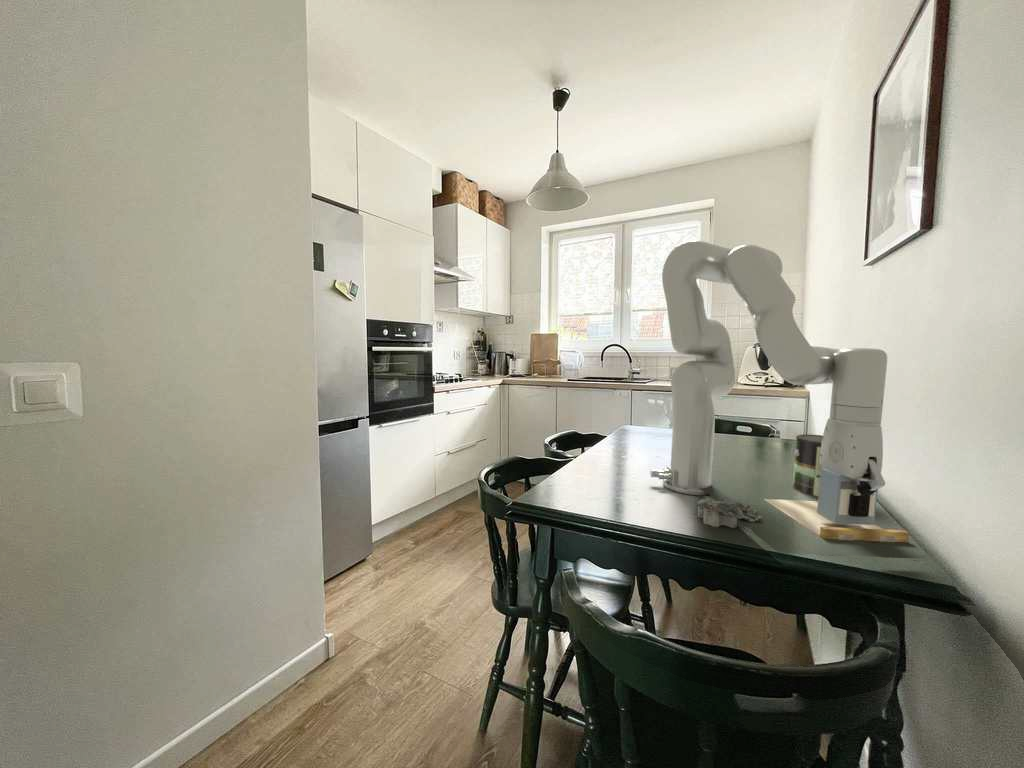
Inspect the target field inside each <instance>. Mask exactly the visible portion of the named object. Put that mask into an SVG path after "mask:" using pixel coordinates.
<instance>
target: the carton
mask: <svg viewBox="0 0 1024 768" xmlns="http://www.w3.org/2000/svg"><path fill="white" fill-rule="evenodd" d="M861 478H865V477H864V475H863V476H862V477H861ZM859 482H860V487H861V486H862V485H864V482H862V481H859ZM878 491H879V489H878V490H877V491H876V492H874V495H873V496H872V497H871V496H870V505H869V515H868V517H854V516H850V515H849V514H848V511H849V500H850V494H853V488H852V481H851V479H849V478H846V477H844V476H843V475H840V474H838V473H835V472H833V471H831V470H828V469H826V468H821V473H820V485H819V496H817V497H818V498H817V501H818V507H817V513H818V514H819V515H821V516H823V517H825V518H826V519H828V520H830V521H832V522H833V523H837V524H860V525H875V521H876V520H875V519H876V511H877V502H878V501H877V500H878Z"/></svg>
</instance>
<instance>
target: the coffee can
mask: <svg viewBox="0 0 1024 768" xmlns="http://www.w3.org/2000/svg"><path fill="white" fill-rule="evenodd" d="M822 438H823V435H820V434H808V433H807V434H798V435H796V436H795V441H796V442H795V444H796V445H795V451H794V466H793V477H792V478H793V479H792V488H793V489H794V490H796V491H799V492H800V493H804V494H807V495H811V496H815V497H818V496H819V485H820V473H821V468H823V467H822V466H821V465H820V463H819V459H820V450H821V444H822Z"/></svg>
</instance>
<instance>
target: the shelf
mask: <svg viewBox="0 0 1024 768" xmlns="http://www.w3.org/2000/svg"><path fill="white" fill-rule="evenodd" d="M763 501H765V502H766V503H768V504H770V505H771V506H772V507H774V508H776V509H778V511H781V512H782V513H784V515H787V516H788V517H789V518H791V519H793V520H794V521H796V522H798V523H799V524H800V525H802V526H804V527H805V528H807V529H808V530H809V531H811V532H813V533H814V534H816V535H817V536H819V537H820V538H821V539H823V540H839V541H869V542H881V543H909V540H910V532H909V531H907V530H905V529H902V530H901V529H884V528H882V527H880V526H878V525H876V524H874V525H860V524H837V523H833V522H832V521H830V520H828V519H826V518H825V517H823V516H821V515H819V514H818V513H817V507H818V500H798V499H796V500H795V499H774V498H773V499H772V498H771V499H770V498H763Z"/></svg>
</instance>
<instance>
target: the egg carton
mask: <svg viewBox="0 0 1024 768" xmlns="http://www.w3.org/2000/svg"><path fill="white" fill-rule="evenodd" d="M696 504H697V517H698V518H701V519H702V520H703V523H704V525H709V526H711V527H715V528H719V526H726V527H729V528H730V529H736V528H737V527H743V528H747V529H749V530H751V528H750V527H749V526H748V525H747V524H745V522H743V521H742V520H746V521H748V522H756V521H757V522H758V521H759V520H760V518H761V519H762V518H763V516H762V515H760V513H759V511H758V510H756V508H755V507H754V506H753V505H751V503H750V502H749V501H748V500H743V501H739V500H738V501H731V502H730V501H729V500H712V499H711V500H710V499H708V498H703V499H702V498H701V499H700V500H698V501H696ZM743 512H747V513H746V515H744V513H743ZM740 519H741V520H740Z"/></svg>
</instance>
